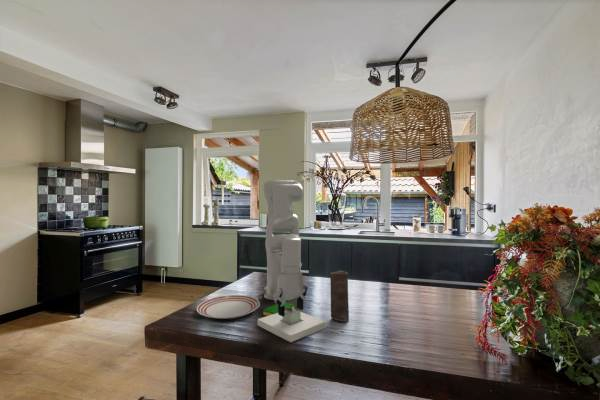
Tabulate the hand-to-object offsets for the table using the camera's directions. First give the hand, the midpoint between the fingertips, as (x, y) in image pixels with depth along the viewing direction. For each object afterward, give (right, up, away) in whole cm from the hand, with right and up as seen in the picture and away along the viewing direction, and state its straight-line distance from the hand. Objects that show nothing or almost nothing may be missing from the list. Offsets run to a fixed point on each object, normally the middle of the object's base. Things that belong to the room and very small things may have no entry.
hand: (290, 312), depth 121 cm
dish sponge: (-6, -6, +16) cm, 18 cm away
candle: (+20, -6, +6) cm, 21 cm away
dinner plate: (-28, -6, +16) cm, 33 cm away
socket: (0, -5, -1) cm, 5 cm away
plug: (0, -5, -1) cm, 5 cm away
